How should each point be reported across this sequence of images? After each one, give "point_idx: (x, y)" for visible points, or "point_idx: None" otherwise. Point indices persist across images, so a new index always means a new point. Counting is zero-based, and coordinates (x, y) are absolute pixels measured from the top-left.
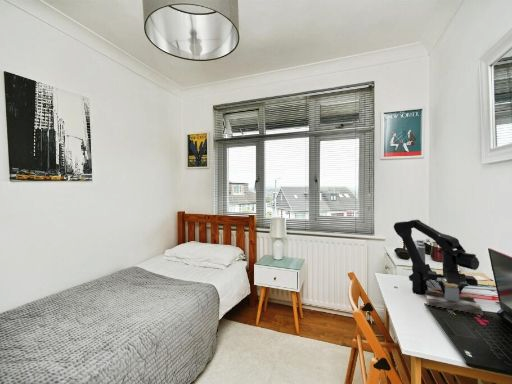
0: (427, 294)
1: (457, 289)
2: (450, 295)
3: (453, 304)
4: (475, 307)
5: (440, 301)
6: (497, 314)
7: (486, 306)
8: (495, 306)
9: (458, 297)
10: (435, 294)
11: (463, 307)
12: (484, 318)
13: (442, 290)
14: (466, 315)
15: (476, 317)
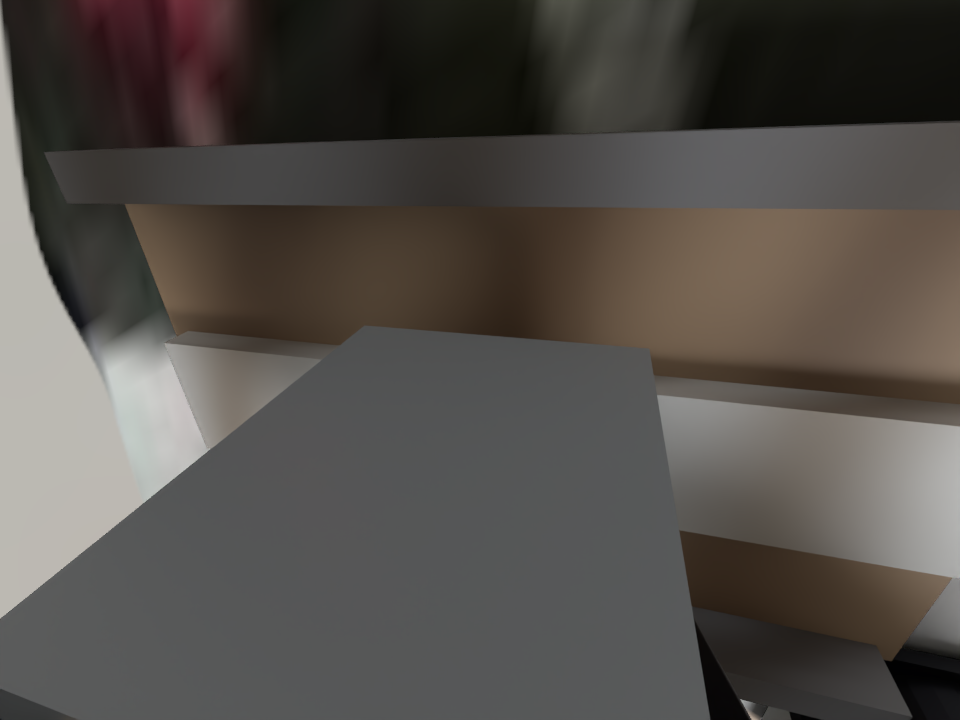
0: (855, 628)
1: (46, 642)
2: (506, 420)
3: (507, 160)
4: (132, 201)
5: (726, 385)
6: (69, 290)
7: (185, 458)
8: (134, 477)
9: (314, 378)
10: (708, 625)
11: (324, 144)
12: (121, 42)
13: (711, 670)
14: (343, 3)
15: (207, 7)
